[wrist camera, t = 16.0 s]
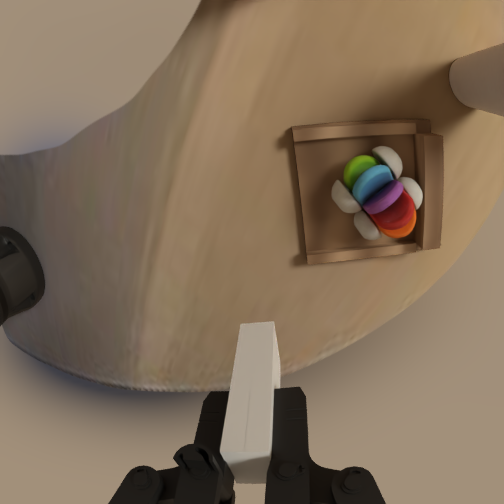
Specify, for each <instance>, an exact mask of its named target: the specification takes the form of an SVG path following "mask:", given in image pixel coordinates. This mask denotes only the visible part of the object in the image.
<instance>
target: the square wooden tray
mask: <svg viewBox="0 0 504 504" xmlns="http://www.w3.org/2000/svg"><path fill="white" fill-rule="evenodd" d="M292 134H293V141H294V149H295V156H296V164H297V172H298V180H299V189H300V197H301V206H302V215H303V225H304V235H305V245H306V256H307V263H308V265H310V264H319V263H328V262H337V261H346V260H355V259H363V258H372V257H380V256H389V255H397V254H405V253H414V252H416V250H429V249H437V248H440V241H441V229H442V214H443V188H444V156H443V136H441V135H437V134H433V133H431V127H430V120H372V121H352V122H337V123H324V124H313V125H303V126H293V127H292ZM379 146H386V147H389V148H391V149H393V150H394V151H395V152H396V153H397V154H398V156H399V157H400V159H401V161H402V172H401V175H400V177H408V178H411V179H413V180H414V181H415V182H416V183H417V184H418V185H419V187H420V188H421V190H422V194H423V199H422V203H421V205H420V207H419V208H418V209H417V210H415V211H416V223H415V226H414V228H413V230H412V231H411V232H410V234H408V235H407V236H405V237H401V238H391V237H388V236H386V235H384V234H383V233H382V232H381V231H380V232H381V235H382V237H381V238H379V239H376V240H368V239H365V238H364V237H363V236H362V235H361V233H360V232H359V231H358V229H357V228H356V226H355V225H354V216H355V213H346V212H343V211H342V210H341V209H340V208H339V206H338V205H337V204H336V203H335V201H334V200H333V199H332V187H333V185H334V183H335V182H336V181H337V180H339V181H340V182H341V183H342V184H343V185H344V186H345V184H344V181H343V180H344V169H345V167H346V165H347V163H348V162H349V161H350V160H351V159H352V158H354V157H356V156H361V155H367V156H372V157H374V155H373V153H372V149H374V148H376V147H379ZM374 158H375V157H374ZM400 177H399V178H400ZM394 180H396V179H394ZM362 209H363V210H364V208H363V207H362ZM364 211H366V210H364Z"/></svg>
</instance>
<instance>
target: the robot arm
mask: <svg viewBox="0 0 504 504" xmlns="http://www.w3.org/2000/svg"><path fill="white" fill-rule="evenodd" d="M44 289H45V280H44V274H43V270H42V267H41V264H40V262H39V259H38V257H37V255H36V253H35V252H34V250H33V249H32V247H31V246H30V244H29V243H28V242H27V240H26V239H25V238H24V237H23V236H22V235H21V234H19V233H18V232H17V231H15V230H14V229H12V228H9V227H0V326H1V325H2V324H3V323H4V322H5V321H6V320H7V319H8V318H9V317H12V316H14V315H16V314H19V313H21V312H23V311H26V310H28V309H30V308H32V307H33V306H34V305H35V304H36V303H37V302H38V301H39V300H40V299H41V298H42V296H43V294H44ZM306 408H307V407H306V396H305V394H304V393H303V391H302V390H301V388H300V387H291V388H280V359H279V352H278V345H277V338H276V332H275V325H274V321H272V322H260V323H247V324H241V325H240V332H239V338H238V344H237V350H236V356H235V362H234V368H233V374H232V380H231V386H230V391H221V392H220V391H211V392H210V393H209V395H208V396H207V398H206V399H205V400H204V401H203V406H202V410H201V414H200V419H199V423H198V428H197V432H196V436H195V440H194V444H188V445H186V446H184V447H181V448H180V449H179V450H178V451H177V452H176V453H175V455H174V457H173V459H174V460H175V461H176V463H177V464H178V465H179V466H178V467H175V468H170V469H165V470H158V471H156V470H155V469H153V468H151V467H149V466H138V467H135V468H133V469H132V470H131V471H130V472H129V473H128V474H127V475H126V477H125V478H124V480H123V482H122V483H121V485H120V487H119V488H118V490H117V491H116V493H115V494H114V496H113V497H112V499H111V500H110V502H109V503H108V504H235V491H234V490H233V485H234V479H235V481H236V483H252V484H256V483H266V492H265V504H386V503H385V501H384V499H383V497H382V495H381V493H380V490H379V488H378V486H377V484H376V482H375V480H374V478H373V476H372V475H371V473H370V472H369V471H368V470H366V469H364V468H361V467H348V468H345V469H343V470H341V471H339V470H333V469H328V468H324V467H321V466H319V465H317V464H316V463H315V462H314V461H313V460H312V459H311V457H310V455H309V448H308V425H307V409H306Z"/></svg>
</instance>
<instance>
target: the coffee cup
mask: <svg viewBox="0 0 504 504" xmlns="http://www.w3.org/2000/svg"><path fill="white" fill-rule="evenodd" d="M449 81H450V86H451V88H452V91H453V93H454V95H455V96H456V97H457V99H458V100H459V101H460V102H461V103H463V104H464V105H466V106H468V107H471V108H475V109H479V110H483V111H486V112H490V113H493V114H497V115H500V116H503V117H504V43H502V44H499V45H496V46H493V47H490V48H487V49H484V50H481V51H478V52H475V53H472V54H469V55H466V56H463V57H461V58H458V59H456V60H455V61H454V62H453V63H452V65H451V67H450V71H449Z"/></svg>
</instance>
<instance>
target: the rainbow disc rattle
mask: <svg viewBox="0 0 504 504" xmlns="http://www.w3.org/2000/svg"><path fill="white" fill-rule="evenodd" d="M372 153H373V155H374V157H375V158H374V157H372V156H367V155H361V156H356V157H354V158H352V159H351V160H350V161H349V162H348V163H347V165H346V167H345V169H344V180H343V181H344V184H345V186H344V185H343V184H342V183H341V182H340V181H339V180H337V181H336V182H335V183H334V185H333V187H332V199H333V200H334V201H335V203H336V204H337V205H338V206H339V208H340V209H341V210H342V211H343V212H346V213H355V216H354V225H355V226H356V228H357V229H358V231H359V232H360V233H361V235H362V236H363V237H364V238H365V239H368V240H376V239H379V238H381V237H382V235H381V232H382V233H383V234H384V235H386V236H388V237H391V238H401V237H405V236H407V235H408V234H410V232H411V231H412V230H413V228H414V226H415V223H416V211H415V210H417V209H418V208H419V207H420V205H421V203H422V199H423V194H422V190H421V188H420V187H419V185H418V184H417V183H416V182H415V181H414V180H413V179H411V178H408V177H400V175H401V172H402V161H401V159H400V157H399V156H398V154H397V153H396V152H395V151H394V150H393V149H391V148H389V147H386V146H379V147H376V148H374V149H372ZM399 177H400V178H399ZM394 179H396V180H394ZM362 207H363V208H364V210H366V211H364V210H363V209H362ZM380 231H381V232H380Z"/></svg>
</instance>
